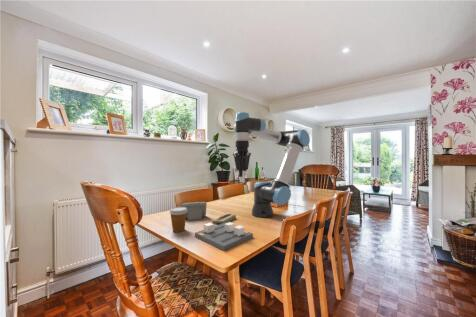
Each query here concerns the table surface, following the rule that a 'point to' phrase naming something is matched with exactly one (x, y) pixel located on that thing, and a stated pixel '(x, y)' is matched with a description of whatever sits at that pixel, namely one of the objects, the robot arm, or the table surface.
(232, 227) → the tab
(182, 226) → the disposable coffee cup
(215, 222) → the olive shallow tray
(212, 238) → the switch bank
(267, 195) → the robot arm
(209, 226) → the tab
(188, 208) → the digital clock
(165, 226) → the table surface
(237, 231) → the tab
